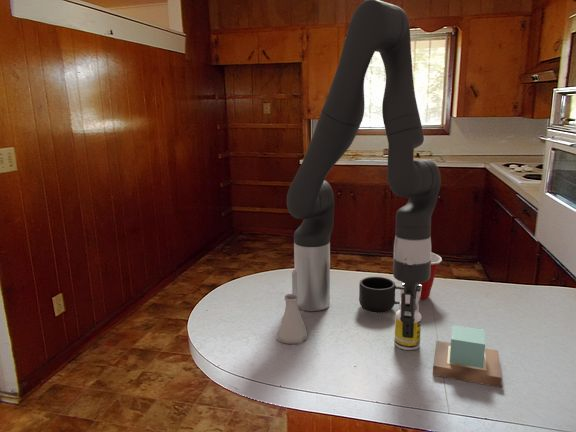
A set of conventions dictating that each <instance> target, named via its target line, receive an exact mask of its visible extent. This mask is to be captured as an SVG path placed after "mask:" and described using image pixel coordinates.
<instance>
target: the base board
mask: <svg viewBox="0 0 576 432" xmlns="http://www.w3.org/2000/svg"><path fill="white" fill-rule="evenodd" d="M450 349H451V342H449V341H448V342H446V341H442V340H441V341H440V340H436V341H435V349H434V357H433V364H432V376H438V377H442V378H448V379H454V380H457V381H458V380H459V381H464V382H471V383H474V384H475V383H476V384H482V385H487V386H491V387H492V386H493V387H495V388H501V387H502V379H503V375H502V370H501V361H500V355H499V350H497V349H491V348H486V347H485V353H484V364H483V368H479V367H473V366H467V365H462V364H456V363H450Z"/></svg>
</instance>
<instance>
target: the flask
mask: <svg viewBox="0 0 576 432" xmlns="http://www.w3.org/2000/svg"><path fill="white" fill-rule="evenodd" d="M297 300H298V295H296V294H292V293H287V294H285V295H284V301H285V308H284V314H283V316H282V318H281V319H282V320H281V322H280V325H279V328H278V331H277V335H276V337H277V338H276V340H277V341H279V342H281V343H284V344H287V345H289V344H290V345H291V344H293V345H294V344H296V345H297V344H302V343H303V342H304V341H306V340H307V339H308V331H307V329H306V326H305V324H304V320H303V319H302V316H301V313H300V311H299V308H298V306H297Z"/></svg>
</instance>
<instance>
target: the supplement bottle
mask: <svg viewBox="0 0 576 432" xmlns="http://www.w3.org/2000/svg"><path fill="white" fill-rule="evenodd" d="M399 302H400V304H398V305H399V309H398V310H397V311H396V313H395V318H394V319H395V320H394V321H395V323H394V340H393V341H394V345H395V346H396V347H397V348H399V349H402V350H404V351H414V350H417V349H419V347H420V344H421V330H422V329H421V328H422V314H421V313H420V312H419V306H420V304H419V303H418V310H417V311H416V312H415V321H414V335H413V338H405V337H403V336H402V326H403V322H401V320H400V317H401V307H400V305H401V300H400V301H399ZM405 315H408V316H411V312H407V311H405Z"/></svg>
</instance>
